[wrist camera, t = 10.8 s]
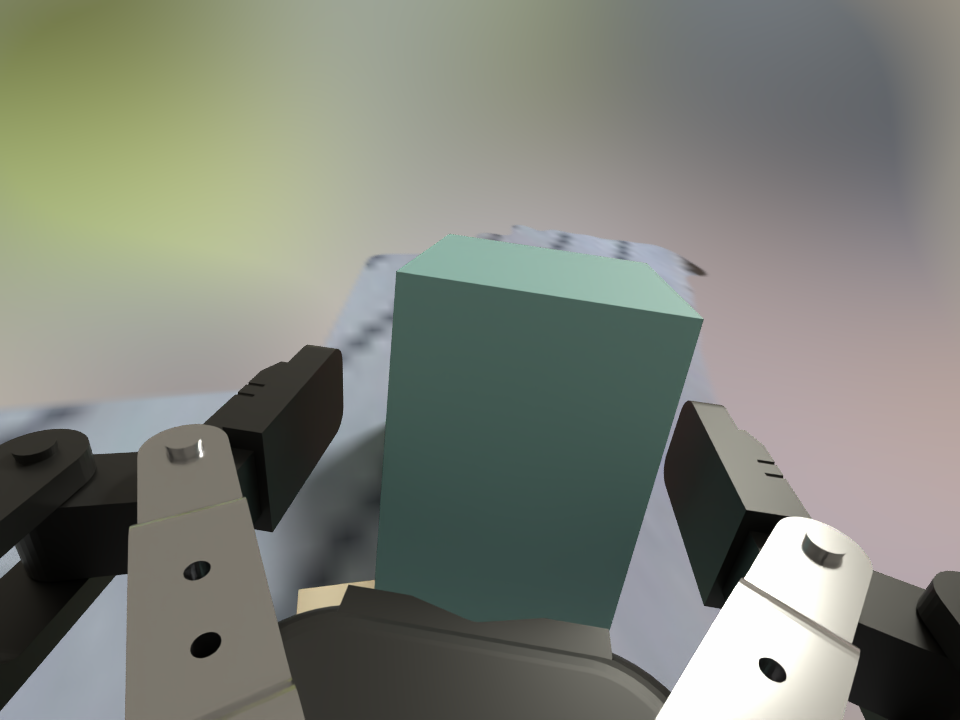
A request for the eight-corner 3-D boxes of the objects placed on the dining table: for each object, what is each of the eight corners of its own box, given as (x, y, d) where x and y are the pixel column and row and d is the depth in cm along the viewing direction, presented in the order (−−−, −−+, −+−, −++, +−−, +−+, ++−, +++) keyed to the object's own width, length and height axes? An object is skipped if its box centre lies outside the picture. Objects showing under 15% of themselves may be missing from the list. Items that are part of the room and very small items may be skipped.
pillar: (550, 826, 12) (703, 319, 7) (360, 783, 12) (396, 271, 7) (549, 653, 16) (646, 263, 11) (408, 625, 16) (449, 233, 12)
